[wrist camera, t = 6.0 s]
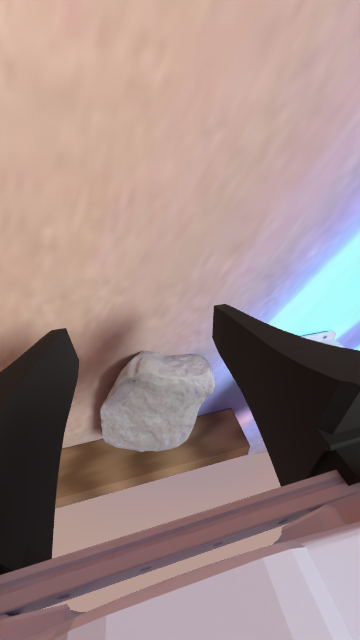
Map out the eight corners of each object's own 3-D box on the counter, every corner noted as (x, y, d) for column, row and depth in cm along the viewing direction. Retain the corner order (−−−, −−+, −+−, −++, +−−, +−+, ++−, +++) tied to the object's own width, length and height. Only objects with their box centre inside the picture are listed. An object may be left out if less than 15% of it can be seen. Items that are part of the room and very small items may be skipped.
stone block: (102, 411, 26) (180, 424, 28) (90, 449, 22) (182, 462, 24) (121, 330, 21) (213, 352, 23) (109, 360, 17) (224, 384, 19)
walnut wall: (231, 408, 29) (250, 445, 25) (230, 417, 30) (247, 454, 26) (38, 454, 25) (22, 508, 21) (44, 462, 26) (30, 515, 22)
